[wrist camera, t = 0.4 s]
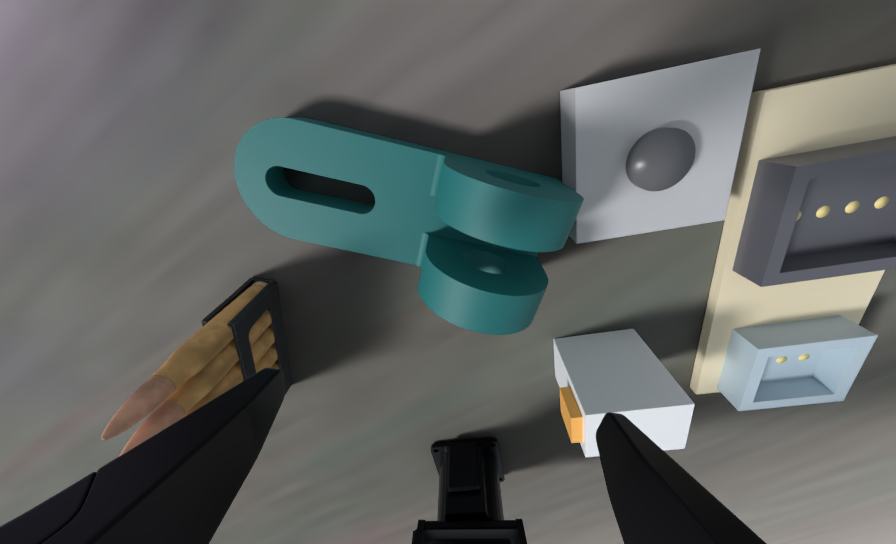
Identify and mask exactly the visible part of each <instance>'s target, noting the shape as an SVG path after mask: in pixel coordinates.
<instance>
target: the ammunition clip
mask: <svg viewBox="0 0 896 544" xmlns="http://www.w3.org/2000/svg"><path fill="white" fill-rule="evenodd" d="M202 326H203V327H202V328H201V329H200V330H198V331H197V332H196V333H195V334H194V335H193V336H191V337H190V338H189V339H188V340H187V341H186V342H184V343H183V344H182V345H181V346H180V347H179V348H177V349H176V350H175V351H174V352H173V353H172V354H171V355H170V357H169V358H168V359H167V360H166V362H165V363H164V364H163V365H162V366H161V367H160V368H159V369H158V370H157V371H156V372H155V373H154V374H153V375H152V376H151V377H150V378H149V379H148V380H147V381H146V382H145V383H144V384H143V385H142V386H140V387H139V388H138V389H137V390H136V391H135V392H134V393H133V394H132V395H131V396H130V397H129V398H128V399H127V401H126V402H125V403H124V404H123V405H122V406H121V407H120V409H119V410H118V411H117V412H116V413H115V415H114V416H113V417H112V419H111V420H110V422H109V423H108V425H107V426H106V428H105V430H104V432H103V434H102V436H101V439H102V440H108V439H110V438H112V437H114V436H117V435H118V434H120V433H122V432H124V431H125V430H127V429H128V428H130V427H132V426H133V425H135V424H136V423H137V422H139V421H140V420H142V419H143V418H144V417H146V416H147V415H148V414H149V413H151V412H152V411H153V410H154V409H155V410H154V411H153V412H152V413H151V414H150V415H149V416H148V417H147V418H146V419H145V421H144V422H143V423H142V424H141V425H140V426H139V428H138V429H137V430H136V431H135V433H134V434H133V435H132V437H131V438H130V439H129V441H128V442H127V444H126V446H125V447H124V449H123V450H122V452H121V454H120V456H121V455H123V454H124V453H126V452H127V451H129V450H131V449H132V448H134V447H136V446H137V445H139V444H141V443H142V442H144V441H146V440H147V439H149V438H150V437H152V436H154V435H155V434H157V433H159V432H160V431H162V430H164V429H165V428H167V427H169V426H170V425H172V424H173V423H175V422H177V421H178V420H180V419H182V418H183V417H185V416H187V415H188V414H190V413H192V412H193V411H195V410H196V409H198V408H200V407H201V406H203V405H205V404H206V403H208V402H210V401H211V400H213V399H215V398H216V397H218V396H219V395H221V394H223V393H224V392H226V391H228V390H229V389H231V388H233V387H234V386H236V385H238V384H239V383H241V382H242V381H244V380H246V379H247V378H249V377H251V376H252V375H254V374H256V373H257V372H259V371H261V370H262V369H264V368H275V369H280V370H282V372H283V377H284V386H285V394H286V393H287V391H288V389H289V388H290V386H291V385H292V384H291V377H290V370H289V363H288V356H287V350H286V343H285V336H284V329H283V322H282V315H281V309H280V302H279V295H278V288H277V282H275V281H274V280H266V279H257V278H250V279H249V280H248V281H247V282H245V283H244V284H243V285H242V286H241V287H240V288H239V289H238V290H236V291H235V292H234V293H233V294H232V295H231V296H230V297H229V298H227V299H226V300H225V301H224V302H223V303H222V304H220V305H219V306H218V307H217V308H216V309H215V310H213V311H212V312H211V313H210V314H209V315H208V316H207V317H205V318H204V319H203V320H202ZM284 396H285V395H284Z"/></svg>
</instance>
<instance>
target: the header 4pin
mask: <svg viewBox="0 0 896 544" xmlns="http://www.w3.org/2000/svg"><path fill="white" fill-rule="evenodd" d="M895 268H896V136H893V137H887V138H881V139H876V140H870V141H865V142H859V143H853V144H848V145H842V146H837V147H831V148H826V149H820V150H814V151H809V152H803V153H798V154H792V155H786V156H781V157H775V158H770V159H764V160H759V161H758V165H757V170H756V174H755V178H754V182H753V186H752V190H751V194H750V199H749V203H748V207H747V211H746V215H745V219H744V224H743V228H742V232H741V236H740V240H739V244H738V249H737V253H736V257H735V261H734V265H733V269H732V271H734V272H736V273H738V274H739V275H741V276H743V277H744V278H746V279H748V280H750V281H751V282H753V283H755V284H757V285H758V286H760V287H765V286H772V285H780V284H787V283H794V282H801V281H809V280H816V279H823V278H830V277H837V276H845V275H852V274H859V273H866V272H874V271H881V270H888V269H895Z"/></svg>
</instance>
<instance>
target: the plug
mask: <svg viewBox="0 0 896 544" xmlns="http://www.w3.org/2000/svg"><path fill="white" fill-rule="evenodd" d="M554 359H555V376H556V379H557V382H558V385H559V387H560V406H561V414H562V417H563V420H564V423H565V426H566V428H567V431H568V434H569V437H570V440H571V443H579V442H580V444H581V447H582V450H583V452H584V455H585V457H595V456H600V455H599V451H598V447H597V443H596V431H597V429H598V427H599V425H600V423H601V421H602V419H603V417H604V415H605V414H606V413H608V412H611V413H619V414H623V415H624V416H625V417H627V418H628V419H629V420H630V421H631V422H632V423H633V424H634V425H635V426H637V427H638V428H639V429H640V430H641V431H642V432H643V433H644V434H645V435H647V436H648V437H649V438H650V439H651V440H652V441H653V442H654V443H655V444H656V445H658V446H659V447H660V448H661V449H662V450H674V449H685V445H686V440H687V436H688V432H689V427H690V423H691V418H692V414H693V410H694V405H695V404H694V403H693V401H692V400H691V399H690V398H689V396H688V395H687V394H686V393H685V391H684V390H683V389H682V388H681V386H680V385H679V384H678V383H677V382H676V380H675V379H674V378H673V377H672V375H671V374H670V373H669V372H668V370H667V369H666V368H665V367H664V366H663V364H662V363H661V362H660V361H659V359H658V358H657V357H656V356H655V354H654V353H653V352H652V351H651V350H650V348H649V347H648V346H647V345H646V343H645V342H644V341H643V340H642V338H641V337H640V336H639V335H638V334H637V332H636V331H635V330H634V329H626V330H618V331H611V332H603V333H595V334H588V335H580V336H572V337H565V338H557V339H554Z"/></svg>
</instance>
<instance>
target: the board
mask: <svg viewBox="0 0 896 544" xmlns="http://www.w3.org/2000/svg"><path fill="white" fill-rule="evenodd" d="M893 136H896V64H892V65H887V66H882V67H877V68H872V69H867V70H862V71H857V72H852V73H847V74H842V75H837V76H832V77H827V78H822V79H817V80H812V81H807V82H802V83H797V84H792V85H787V86H782V87H777V88H772V89H767V90H762V91H757V92H752V95H751V99H750V104H749V109H748V114H747V118H746V123H745V128H744V133H743V137H742V142H741V147H740V151H739V156H738V161H737V166H736V170H735V175H734V180H733V185H732V189H731V194H730V199H729V203H728V208H727V213H726V218H725V222H724V227H723V232H722V237H721V241H720V246H719V251H718V255H717V260H716V265H715V270H714V274H713V279H712V284H711V289H710V293H709V298H708V303H707V307H706V312H705V317H704V322H703V326H702V331H701V336H700V341H699V345H698V350H697V355H696V359H695V364H694V369H693V374H692V378H691V383H690V388H691V389H692V390H693V391H694V393H695V394H696V395H697V394H706V393H715V392H720V391H719V390H718V389H717V386H718V382H719V378H720V374H721V371H722V367H723V363H724V359H725V356H726V352H727V348H728V344H729V341H730V337H731V333H732V329H736V328H744V327H752V326H760V325H768V324H776V323H784V322H792V321H800V320H808V319H816V318H823V317H831V316H839V315H841V316H843V317H845V318H846V319H848V320H850V321H852V322H854V323H856V324H858V325H859V323H860V321H861V319H862V317H863V315H864V313H865V310H866V308H867V306H868V304H869V302H870V300H871V298H872V296H873V294H874V292H875V290H876V288H877V286H878V284H879V282H880V279H881V277H882V275H883V273H884V271H885V270H881V271H874V272H866V273H859V274H852V275H845V276H837V277H830V278H823V279H816V280H809V281H801V282H794V283H787V284H780V285H772V286H765V287H760V286H758V285H757V284H755V283H753V282H751V281H750V280H748V279H746V278H744V277H743V276H741V275H739V274H738V273H736V272H734V271H732V269H733V265H734V261H735V257H736V253H737V249H738V244H739V240H740V236H741V232H742V228H743V224H744V219H745V215H746V211H747V207H748V203H749V199H750V194H751V190H752V186H753V182H754V178H755V174H756V170H757V165H758V161H759V160H764V159H770V158H775V157H781V156H786V155H792V154H798V153H803V152H809V151H814V150H820V149H826V148H831V147H837V146H842V145H848V144H853V143H859V142H865V141H870V140H876V139H881V138H887V137H893Z"/></svg>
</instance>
